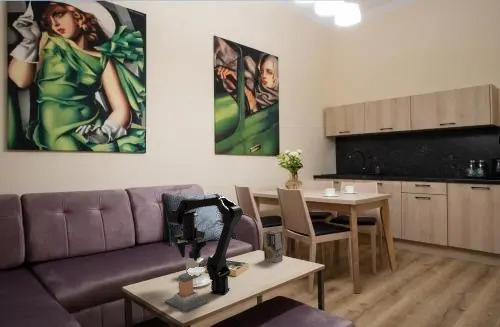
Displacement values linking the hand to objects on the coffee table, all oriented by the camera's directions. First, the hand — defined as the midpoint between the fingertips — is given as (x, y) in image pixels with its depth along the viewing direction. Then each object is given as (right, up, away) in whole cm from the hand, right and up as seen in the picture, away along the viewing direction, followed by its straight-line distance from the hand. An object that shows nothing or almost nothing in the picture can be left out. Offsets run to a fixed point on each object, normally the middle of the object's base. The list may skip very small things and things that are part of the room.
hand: (189, 259), depth 149 cm
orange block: (+2, -11, -19) cm, 22 cm away
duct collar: (+2, -12, -19) cm, 23 cm away
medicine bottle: (0, -12, +15) cm, 20 cm away
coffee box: (+42, -11, +34) cm, 55 cm away
